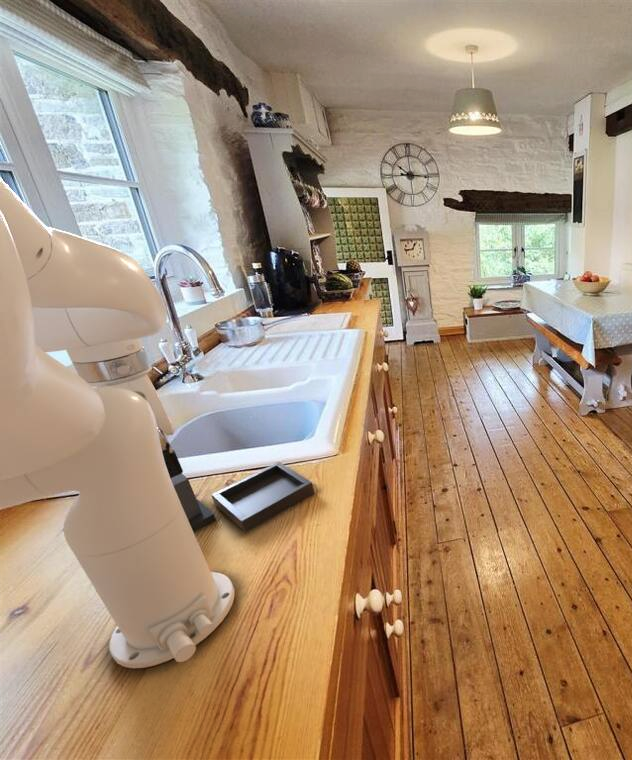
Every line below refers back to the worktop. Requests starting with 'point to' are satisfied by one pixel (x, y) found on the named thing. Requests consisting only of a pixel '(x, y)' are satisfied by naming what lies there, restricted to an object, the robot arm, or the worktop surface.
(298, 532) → the worktop surface
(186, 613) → the robot arm
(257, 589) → the worktop surface
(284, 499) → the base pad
